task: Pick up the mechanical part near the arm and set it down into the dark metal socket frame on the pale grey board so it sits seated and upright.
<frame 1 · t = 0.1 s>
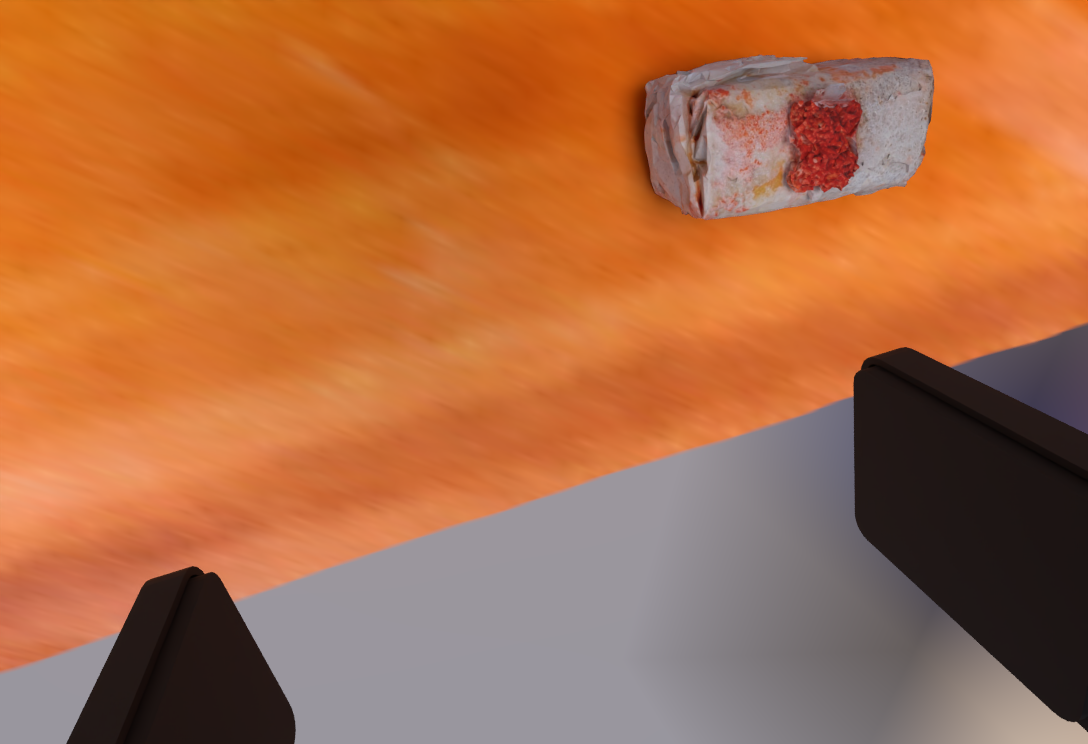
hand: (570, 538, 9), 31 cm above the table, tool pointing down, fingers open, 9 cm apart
food item: (737, 127, 40), on the table
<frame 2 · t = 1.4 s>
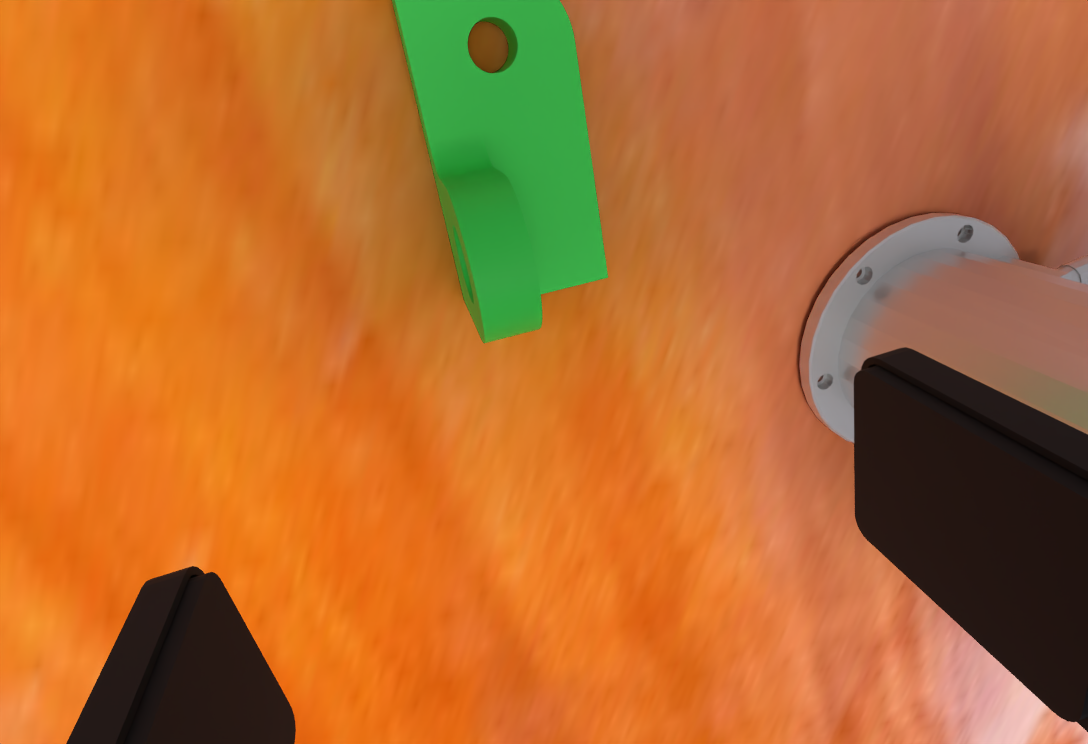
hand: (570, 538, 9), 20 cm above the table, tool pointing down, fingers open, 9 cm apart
mechanical part: (501, 140, 27), on the table
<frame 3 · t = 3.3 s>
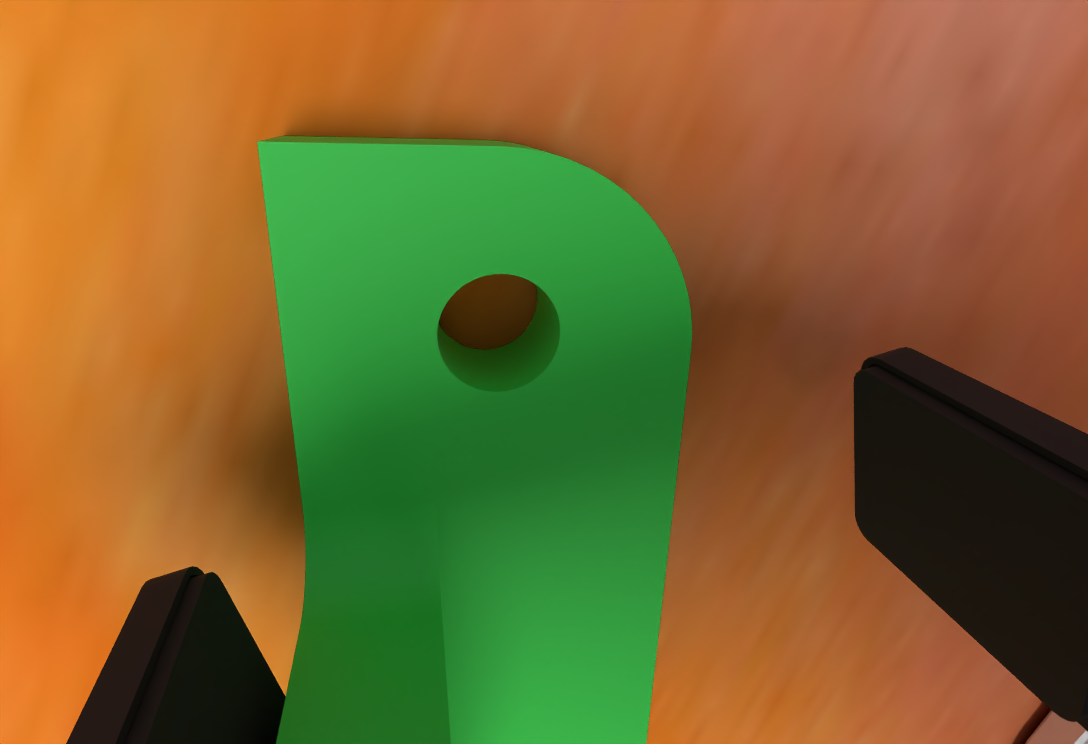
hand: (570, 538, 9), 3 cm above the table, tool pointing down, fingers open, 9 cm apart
mechanical part: (484, 465, 13), on the table, touching gripper
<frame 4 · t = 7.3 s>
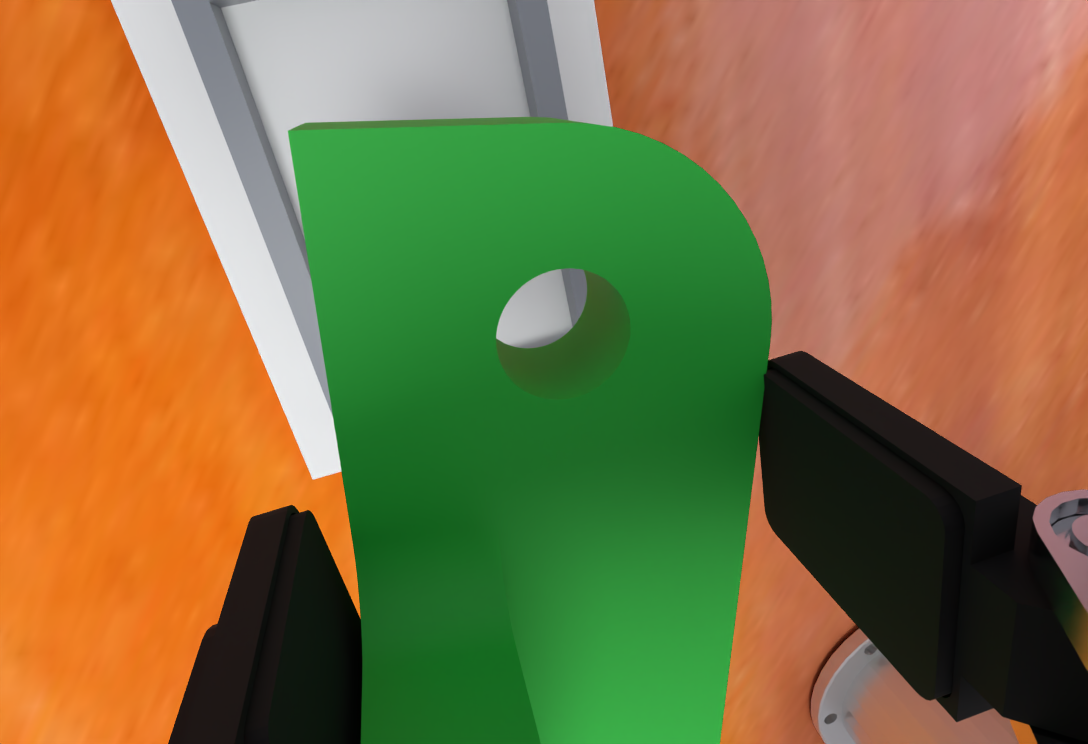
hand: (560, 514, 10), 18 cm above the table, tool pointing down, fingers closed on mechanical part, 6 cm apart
socket board: (421, 191, 25), on the table
mechanical part: (534, 474, 12), point 16 cm above the table, touching gripper
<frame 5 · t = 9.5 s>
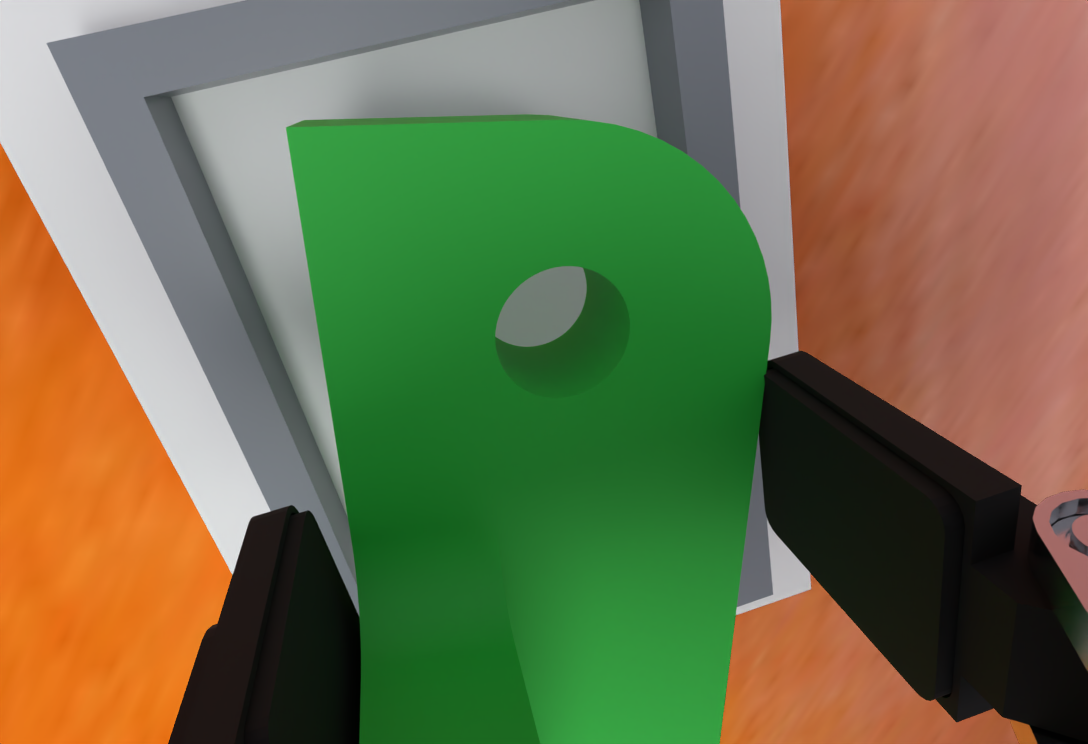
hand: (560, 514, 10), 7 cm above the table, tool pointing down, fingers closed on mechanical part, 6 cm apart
socket board: (493, 352, 17), on the table
mechanical part: (533, 472, 12), point 5 cm above the table, touching gripper
when the fingers open (4 cm above the table, at t = 11.0 s): mechanical part drops 2 cm, resting on socket board.
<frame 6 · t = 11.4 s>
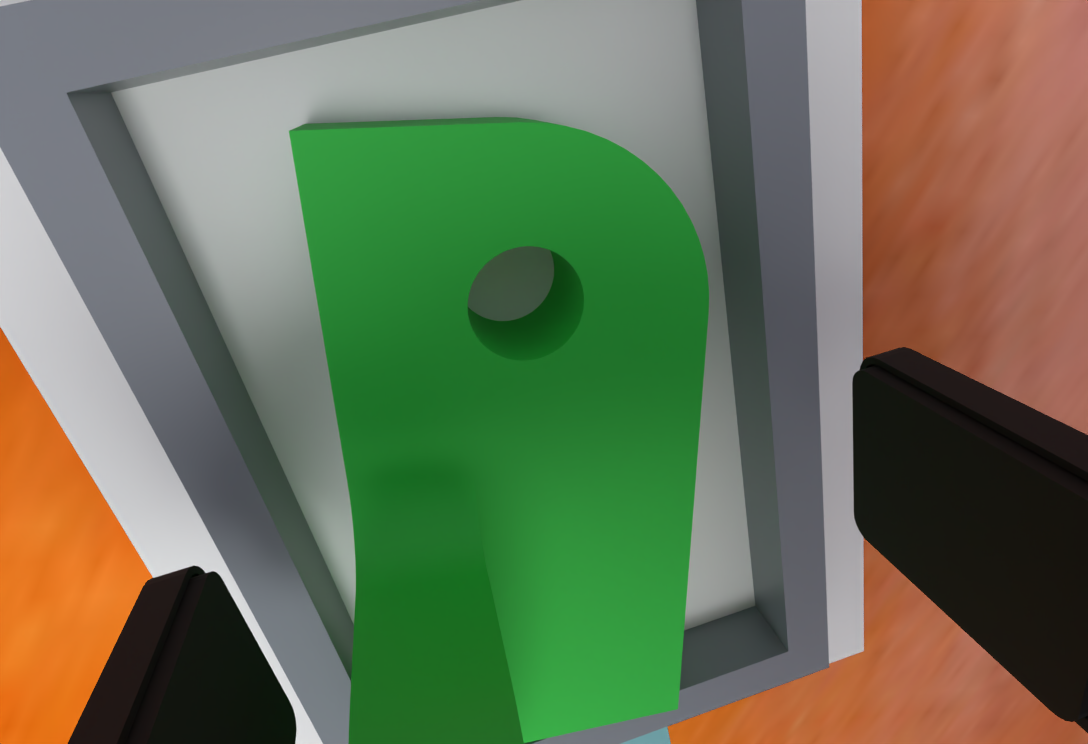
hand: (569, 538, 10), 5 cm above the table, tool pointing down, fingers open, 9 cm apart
socket board: (508, 392, 14), on the table
mechanical part: (511, 435, 13), point 1 cm above the table, touching socket board
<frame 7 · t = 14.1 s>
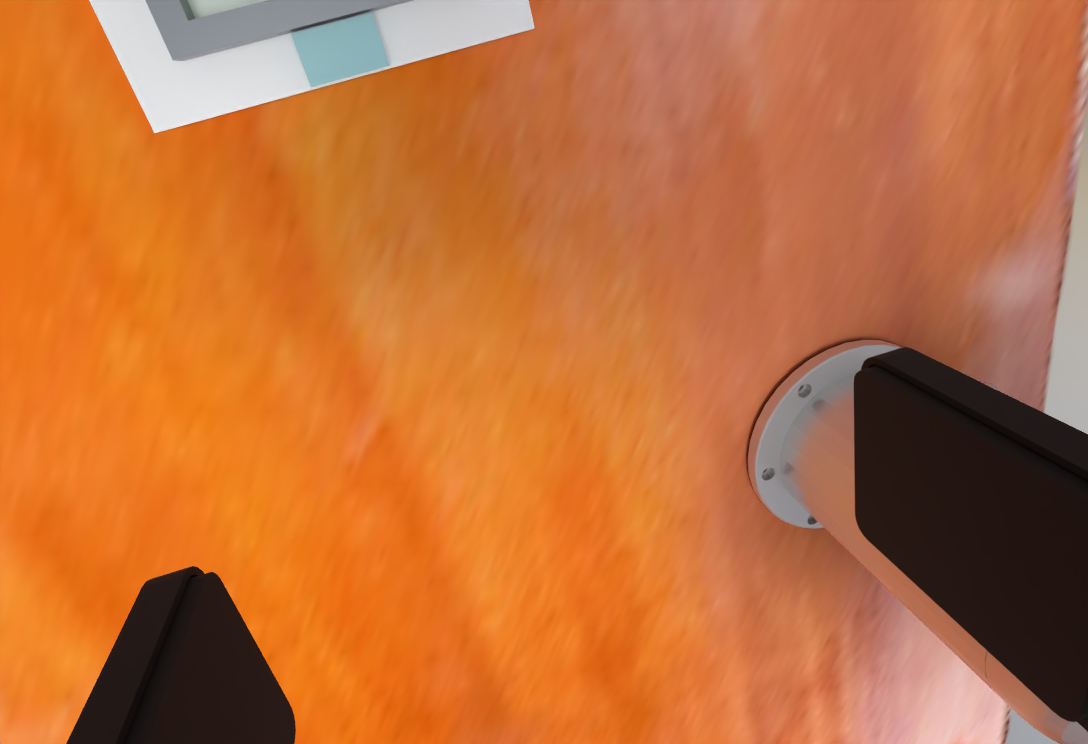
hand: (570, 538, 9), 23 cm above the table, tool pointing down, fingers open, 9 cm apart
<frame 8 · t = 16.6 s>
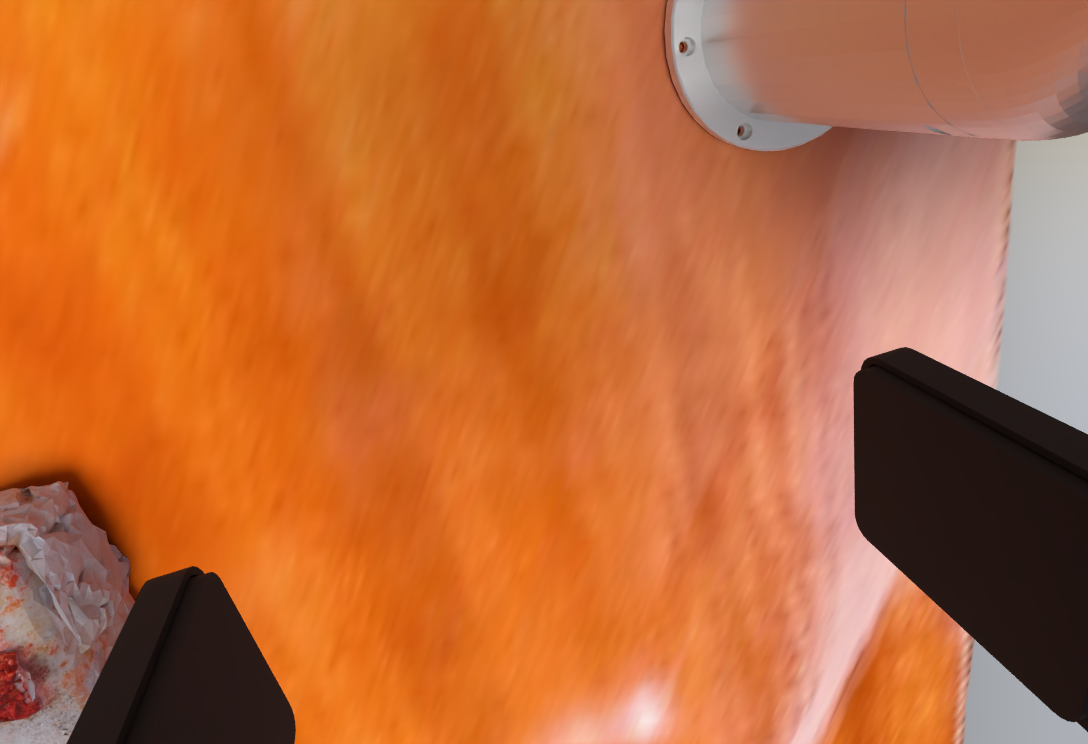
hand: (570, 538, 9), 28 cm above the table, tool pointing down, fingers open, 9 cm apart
food item: (72, 568, 38), on the table
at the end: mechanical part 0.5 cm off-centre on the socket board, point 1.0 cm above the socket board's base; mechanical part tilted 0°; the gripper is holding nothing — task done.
